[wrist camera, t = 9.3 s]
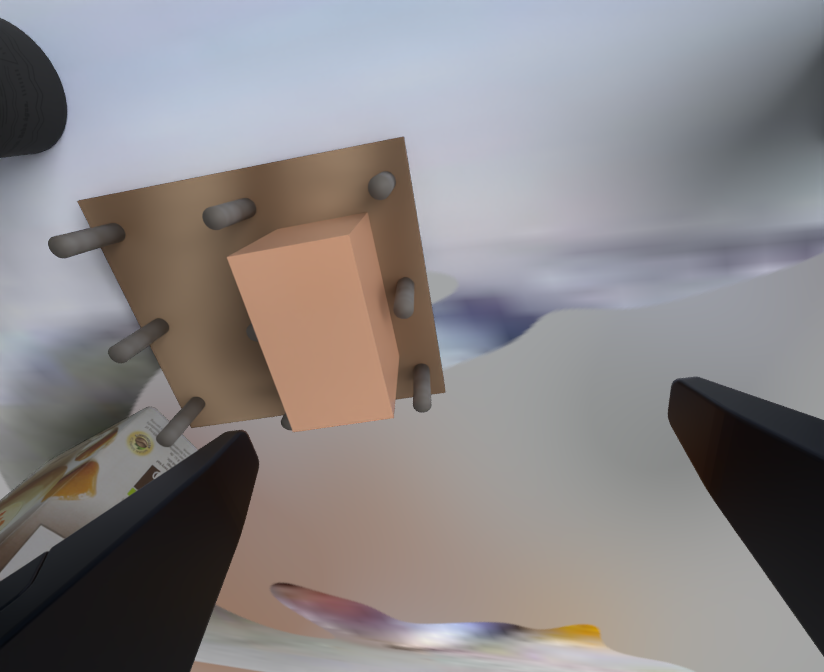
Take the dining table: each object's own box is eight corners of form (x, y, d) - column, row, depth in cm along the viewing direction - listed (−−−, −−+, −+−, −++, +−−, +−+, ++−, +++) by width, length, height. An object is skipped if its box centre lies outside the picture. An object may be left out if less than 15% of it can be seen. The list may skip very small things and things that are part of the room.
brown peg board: (404, 137, 16) (399, 133, 13) (444, 382, 21) (449, 429, 18) (94, 198, 18) (11, 210, 14) (200, 416, 23) (158, 467, 19)
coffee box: (150, 398, 22) (-359, 870, 8) (227, 474, 24) (-52, 949, 10) (42, 461, 24) (-521, 927, 10) (123, 526, 27) (-236, 981, 12)
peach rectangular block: (367, 212, 17) (348, 234, 12) (399, 356, 20) (393, 417, 15) (277, 229, 17) (226, 256, 13) (321, 368, 20) (293, 432, 16)
